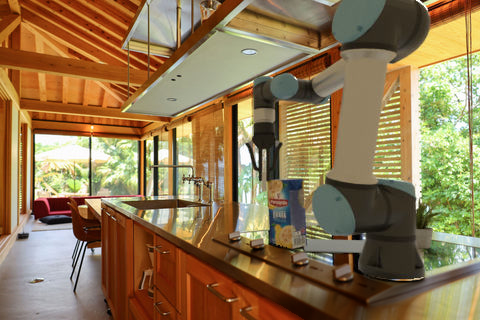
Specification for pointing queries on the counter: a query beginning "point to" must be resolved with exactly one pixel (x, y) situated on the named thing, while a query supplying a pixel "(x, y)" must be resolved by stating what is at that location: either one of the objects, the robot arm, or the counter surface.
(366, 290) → the counter surface
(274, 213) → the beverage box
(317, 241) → the light grey flat slab
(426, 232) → the house plant
